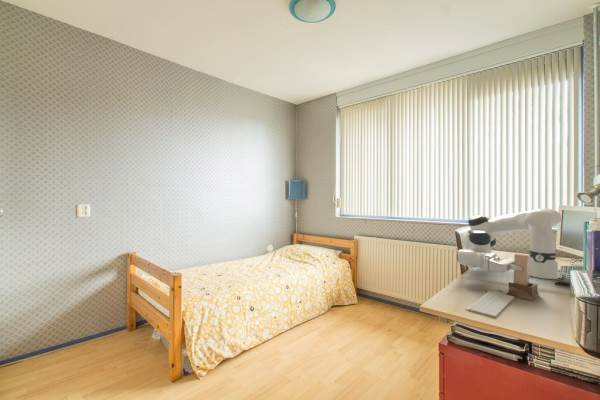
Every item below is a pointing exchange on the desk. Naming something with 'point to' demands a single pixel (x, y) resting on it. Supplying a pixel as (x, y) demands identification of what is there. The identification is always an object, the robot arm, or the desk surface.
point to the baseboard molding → (490, 304)
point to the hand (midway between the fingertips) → (524, 267)
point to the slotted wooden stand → (523, 291)
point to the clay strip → (522, 275)
